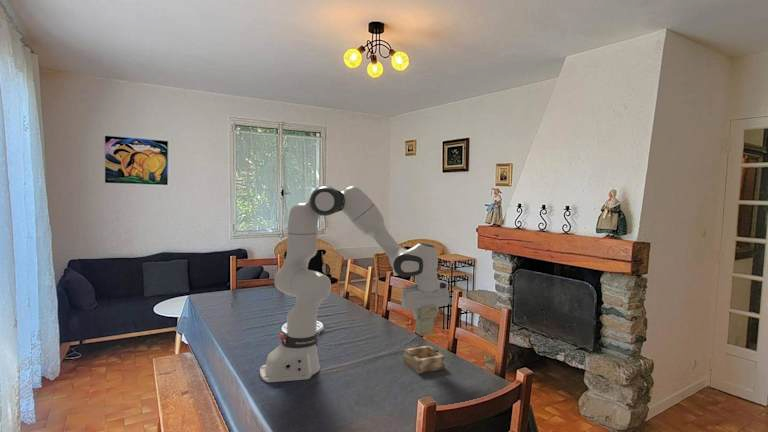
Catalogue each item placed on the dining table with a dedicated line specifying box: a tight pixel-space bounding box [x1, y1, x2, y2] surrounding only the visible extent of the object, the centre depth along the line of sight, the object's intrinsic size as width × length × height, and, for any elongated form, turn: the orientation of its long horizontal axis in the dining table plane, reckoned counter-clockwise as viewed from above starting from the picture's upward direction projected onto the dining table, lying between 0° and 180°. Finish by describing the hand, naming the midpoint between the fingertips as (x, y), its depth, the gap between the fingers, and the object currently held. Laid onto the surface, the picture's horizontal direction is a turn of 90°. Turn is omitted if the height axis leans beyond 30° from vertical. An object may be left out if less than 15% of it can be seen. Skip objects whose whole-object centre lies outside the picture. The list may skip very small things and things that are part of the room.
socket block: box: [403, 345, 446, 375], centre depth 164 cm, size 12×12×6 cm
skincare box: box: [414, 304, 435, 337], centre depth 163 cm, size 6×4×12 cm
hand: (425, 318), depth 163 cm, fingers closed on skincare box, 6 cm apart
